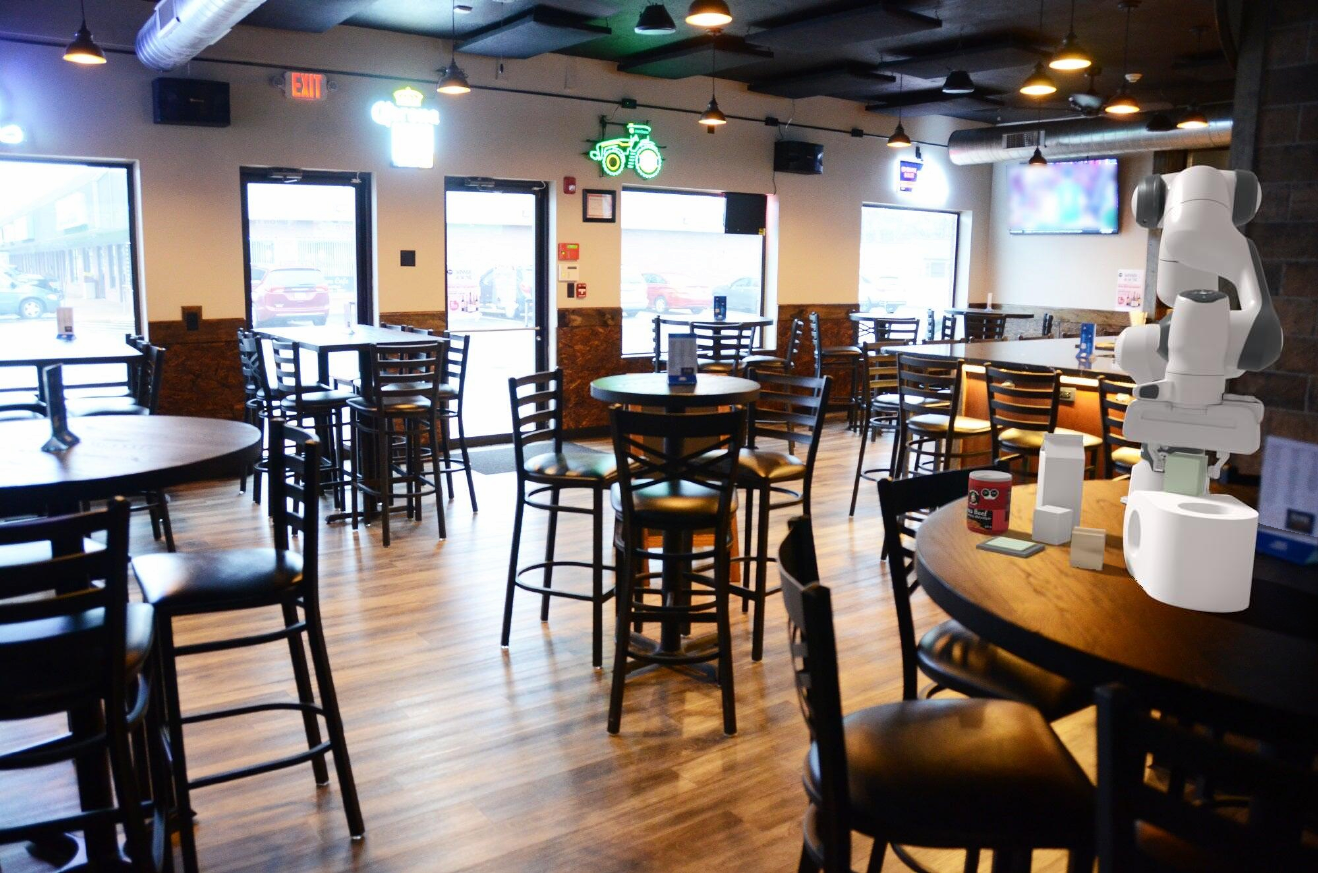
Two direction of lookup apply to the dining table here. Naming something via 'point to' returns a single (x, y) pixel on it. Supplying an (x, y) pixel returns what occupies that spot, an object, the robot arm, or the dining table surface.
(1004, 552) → the swatch
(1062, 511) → the grey block
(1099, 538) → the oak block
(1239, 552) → the white cross-bored block
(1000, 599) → the dining table surface
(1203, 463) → the sage block
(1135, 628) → the dining table surface
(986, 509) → the canned food
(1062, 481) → the milk carton
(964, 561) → the dining table surface
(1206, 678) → the dining table surface
